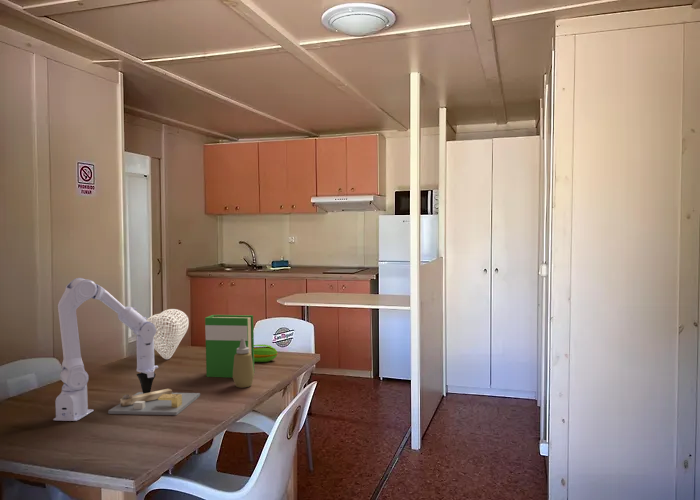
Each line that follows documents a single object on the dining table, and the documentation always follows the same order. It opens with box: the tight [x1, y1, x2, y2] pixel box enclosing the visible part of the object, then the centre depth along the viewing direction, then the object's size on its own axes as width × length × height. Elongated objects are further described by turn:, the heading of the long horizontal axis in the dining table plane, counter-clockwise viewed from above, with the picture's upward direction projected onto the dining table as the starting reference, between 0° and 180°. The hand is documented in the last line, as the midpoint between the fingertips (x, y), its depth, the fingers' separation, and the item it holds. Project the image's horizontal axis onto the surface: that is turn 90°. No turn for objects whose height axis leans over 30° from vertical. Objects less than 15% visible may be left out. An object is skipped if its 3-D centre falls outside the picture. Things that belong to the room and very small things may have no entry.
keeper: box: [158, 394, 182, 408], centre depth 178 cm, size 4×6×3 cm, turn 84°
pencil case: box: [254, 344, 278, 363], centre depth 241 cm, size 7×8×20 cm
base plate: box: [107, 391, 201, 416], centre depth 182 cm, size 20×23×1 cm
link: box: [119, 388, 173, 406], centre depth 183 cm, size 17×4×3 cm, turn 129°
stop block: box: [134, 401, 145, 409], centre depth 176 cm, size 2×3×2 cm, turn 84°
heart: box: [146, 308, 190, 360], centre depth 247 cm, size 28×16×22 cm, turn 179°
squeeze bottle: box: [232, 338, 255, 389], centre depth 203 cm, size 8×8×18 cm
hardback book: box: [204, 314, 255, 379], centre depth 218 cm, size 18×7×24 cm, turn 81°
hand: (146, 393), depth 188 cm, fingers closed
